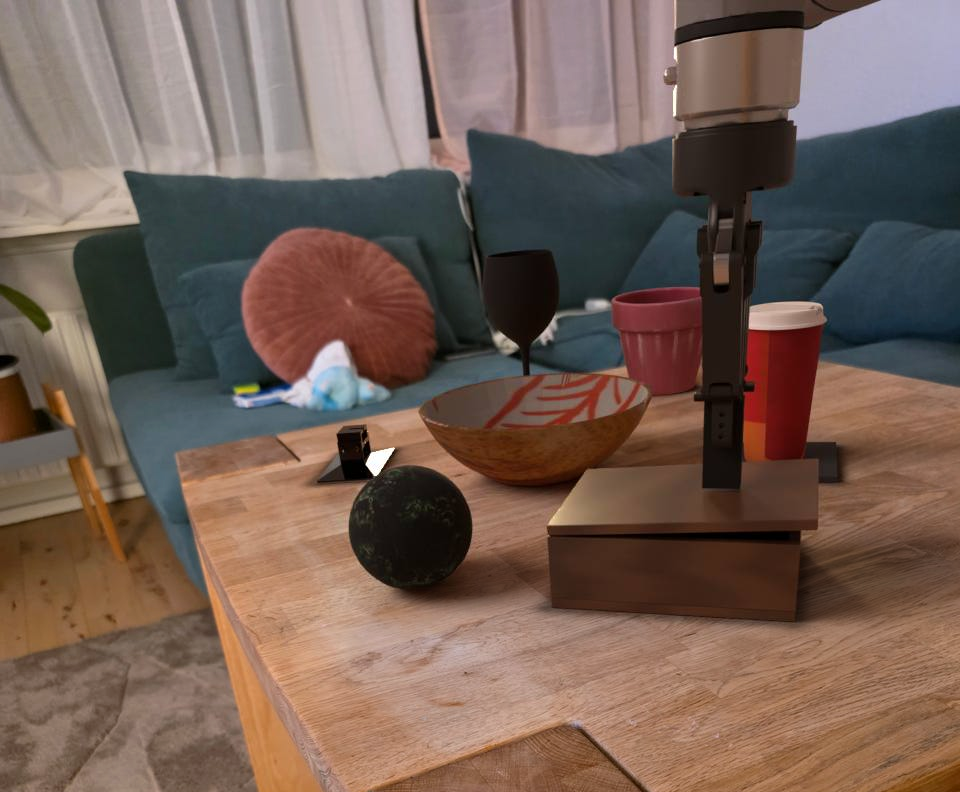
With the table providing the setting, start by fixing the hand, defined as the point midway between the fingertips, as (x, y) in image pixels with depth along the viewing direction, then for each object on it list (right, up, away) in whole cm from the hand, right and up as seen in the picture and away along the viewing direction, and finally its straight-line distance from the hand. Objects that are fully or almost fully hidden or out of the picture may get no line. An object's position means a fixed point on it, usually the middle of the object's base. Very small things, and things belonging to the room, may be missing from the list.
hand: (721, 485), depth 66 cm
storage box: (-2, -6, +5) cm, 8 cm away
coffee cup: (+13, +8, +27) cm, 31 cm away
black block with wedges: (-33, +9, +41) cm, 54 cm away
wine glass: (-11, +22, +62) cm, 67 cm away
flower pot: (+8, +25, +63) cm, 68 cm away
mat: (+13, +7, +27) cm, 31 cm away
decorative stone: (-23, -7, +8) cm, 26 cm away
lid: (-2, -1, +1) cm, 3 cm away
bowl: (-11, +7, +33) cm, 36 cm away
